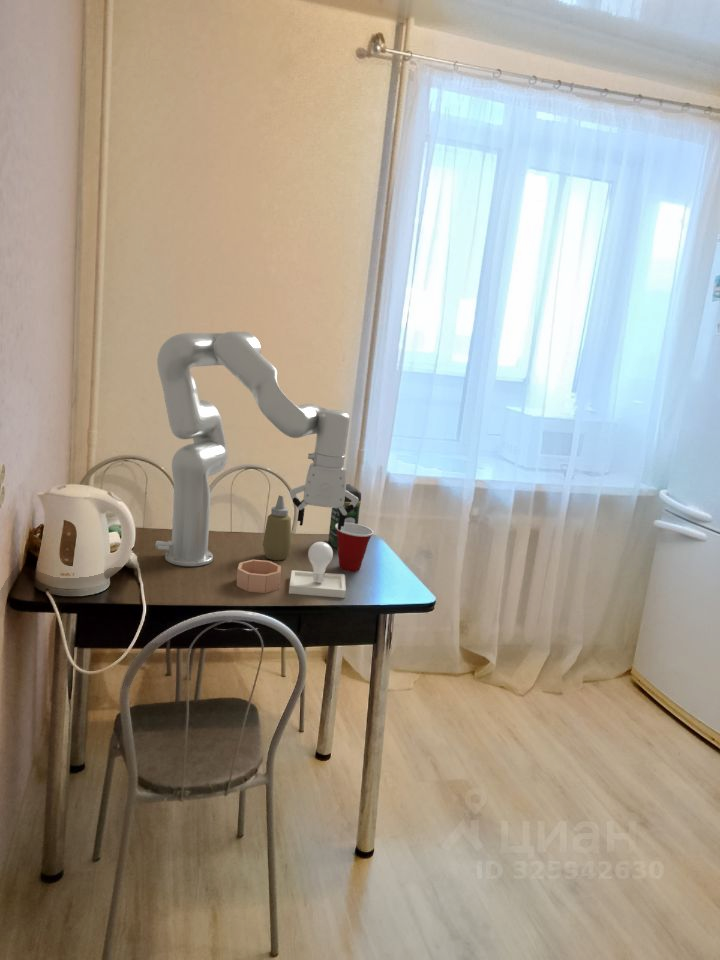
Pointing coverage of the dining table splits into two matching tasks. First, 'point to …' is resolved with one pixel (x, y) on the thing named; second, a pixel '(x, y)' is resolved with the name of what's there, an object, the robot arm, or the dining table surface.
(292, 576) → the tray
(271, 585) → the terracotta octagonal ring
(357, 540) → the plastic cup
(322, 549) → the lightbulb
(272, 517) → the squeeze bottle
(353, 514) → the coffee jar
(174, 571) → the dining table surface
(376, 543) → the dining table surface
